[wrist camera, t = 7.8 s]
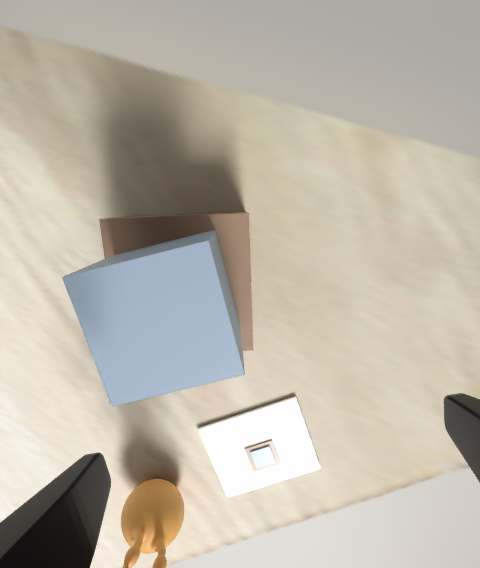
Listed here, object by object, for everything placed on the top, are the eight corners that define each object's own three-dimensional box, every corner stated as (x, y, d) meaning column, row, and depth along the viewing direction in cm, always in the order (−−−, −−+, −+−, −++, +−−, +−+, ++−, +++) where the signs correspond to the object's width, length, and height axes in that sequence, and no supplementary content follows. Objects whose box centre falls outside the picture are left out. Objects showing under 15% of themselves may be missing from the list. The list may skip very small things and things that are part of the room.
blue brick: (214, 229, 16) (208, 240, 11) (240, 325, 17) (244, 374, 12) (114, 255, 16) (62, 277, 11) (146, 348, 17) (112, 406, 12)
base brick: (245, 211, 19) (248, 212, 15) (249, 323, 21) (253, 350, 17) (126, 216, 19) (99, 219, 15) (139, 328, 21) (118, 356, 17)
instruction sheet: (295, 395, 22) (296, 399, 21) (320, 466, 23) (321, 470, 23) (197, 427, 22) (197, 431, 22) (227, 495, 24) (227, 500, 23)
